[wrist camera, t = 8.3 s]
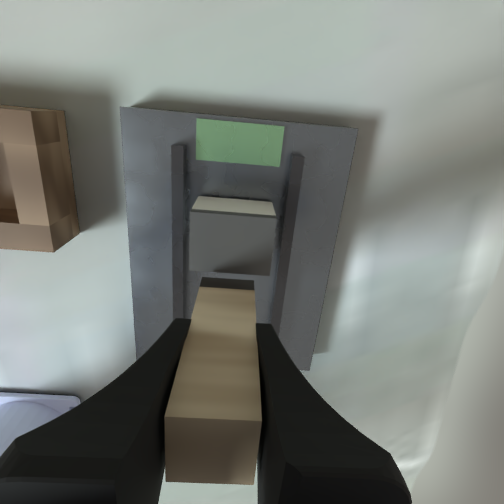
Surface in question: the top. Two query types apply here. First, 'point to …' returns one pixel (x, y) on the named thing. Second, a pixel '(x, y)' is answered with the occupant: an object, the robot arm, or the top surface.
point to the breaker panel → (233, 187)
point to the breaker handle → (231, 236)
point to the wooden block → (216, 390)
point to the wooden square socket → (35, 180)
